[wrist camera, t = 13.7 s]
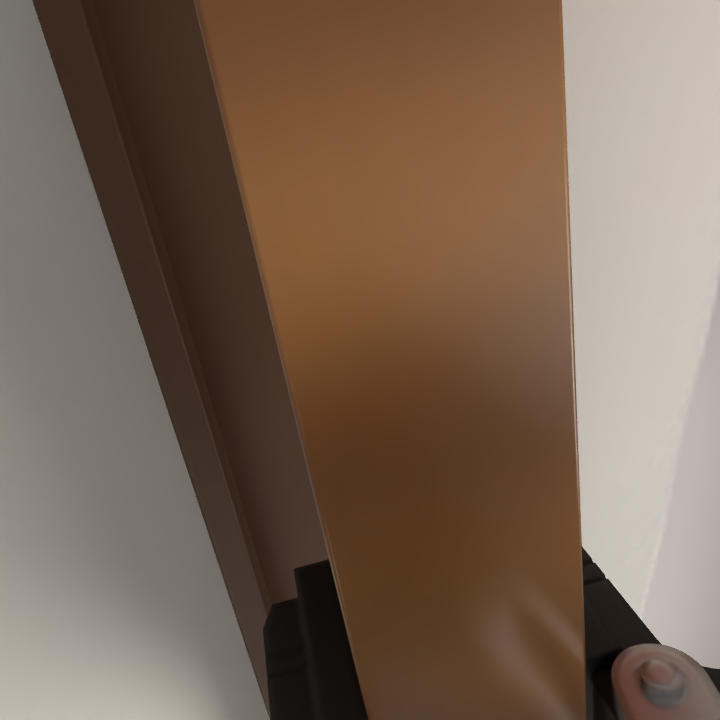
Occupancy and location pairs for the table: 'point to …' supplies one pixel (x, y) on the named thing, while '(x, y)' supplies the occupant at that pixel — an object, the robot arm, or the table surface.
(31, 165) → the table surface
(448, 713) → the whetstone
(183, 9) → the tool tray
